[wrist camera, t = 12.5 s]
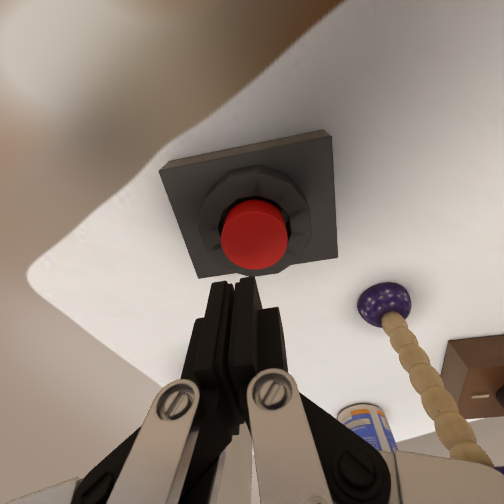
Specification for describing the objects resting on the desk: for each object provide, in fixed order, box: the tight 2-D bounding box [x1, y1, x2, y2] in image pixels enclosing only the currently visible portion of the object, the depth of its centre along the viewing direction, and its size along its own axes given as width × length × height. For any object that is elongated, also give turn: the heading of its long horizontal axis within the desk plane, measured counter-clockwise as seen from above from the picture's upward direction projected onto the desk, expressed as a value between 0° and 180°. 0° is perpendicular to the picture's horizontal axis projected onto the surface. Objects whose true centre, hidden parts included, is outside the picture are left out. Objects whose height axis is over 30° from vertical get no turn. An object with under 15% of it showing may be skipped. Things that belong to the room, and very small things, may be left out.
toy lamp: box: [358, 283, 504, 475], centre depth 17 cm, size 5×5×17 cm
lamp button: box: [221, 199, 288, 270], centre depth 16 cm, size 4×4×2 cm
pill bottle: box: [337, 404, 398, 453], centre depth 29 cm, size 5×5×10 cm
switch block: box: [159, 130, 338, 279], centre depth 18 cm, size 10×8×4 cm
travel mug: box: [216, 422, 252, 504], centre depth 21 cm, size 6×7×20 cm
